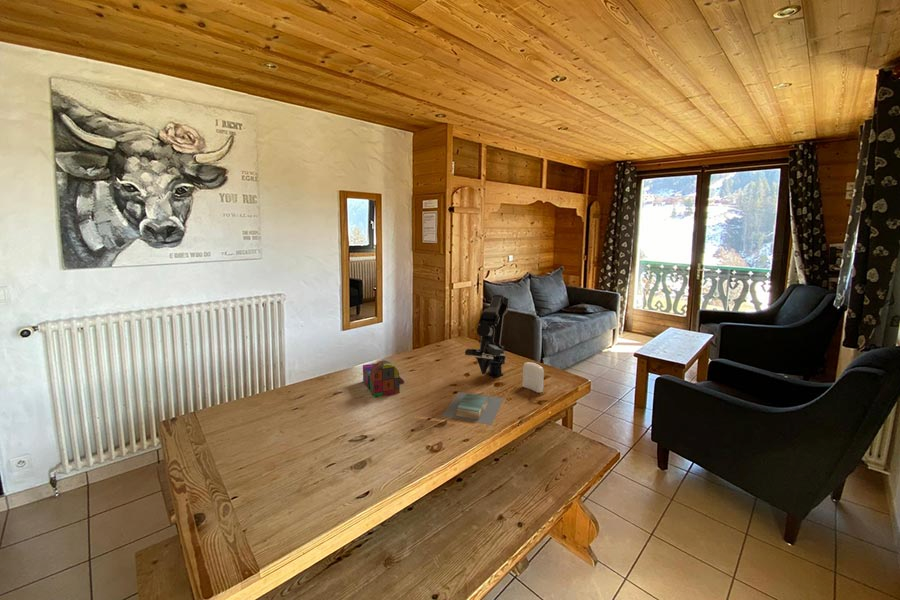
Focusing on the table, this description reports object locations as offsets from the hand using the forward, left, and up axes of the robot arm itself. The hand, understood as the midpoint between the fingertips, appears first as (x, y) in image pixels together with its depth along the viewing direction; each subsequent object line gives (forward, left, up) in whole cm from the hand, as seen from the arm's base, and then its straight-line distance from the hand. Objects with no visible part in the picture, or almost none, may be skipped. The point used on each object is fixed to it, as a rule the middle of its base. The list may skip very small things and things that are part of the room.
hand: (483, 374), depth 179 cm
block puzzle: (-32, -33, -10) cm, 47 cm away
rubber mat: (+10, -12, -9) cm, 18 cm away
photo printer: (+7, +23, -10) cm, 26 cm away
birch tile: (+7, -8, -7) cm, 13 cm away
